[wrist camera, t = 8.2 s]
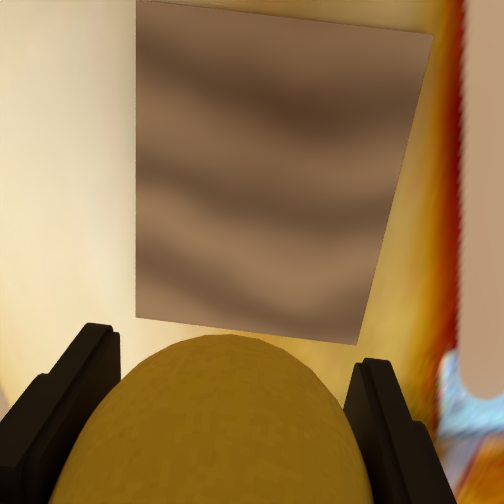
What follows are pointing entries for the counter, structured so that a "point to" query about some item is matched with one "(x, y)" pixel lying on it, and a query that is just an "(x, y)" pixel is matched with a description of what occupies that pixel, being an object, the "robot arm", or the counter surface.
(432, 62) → the counter surface
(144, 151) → the serving board
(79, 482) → the lemon
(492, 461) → the counter surface
